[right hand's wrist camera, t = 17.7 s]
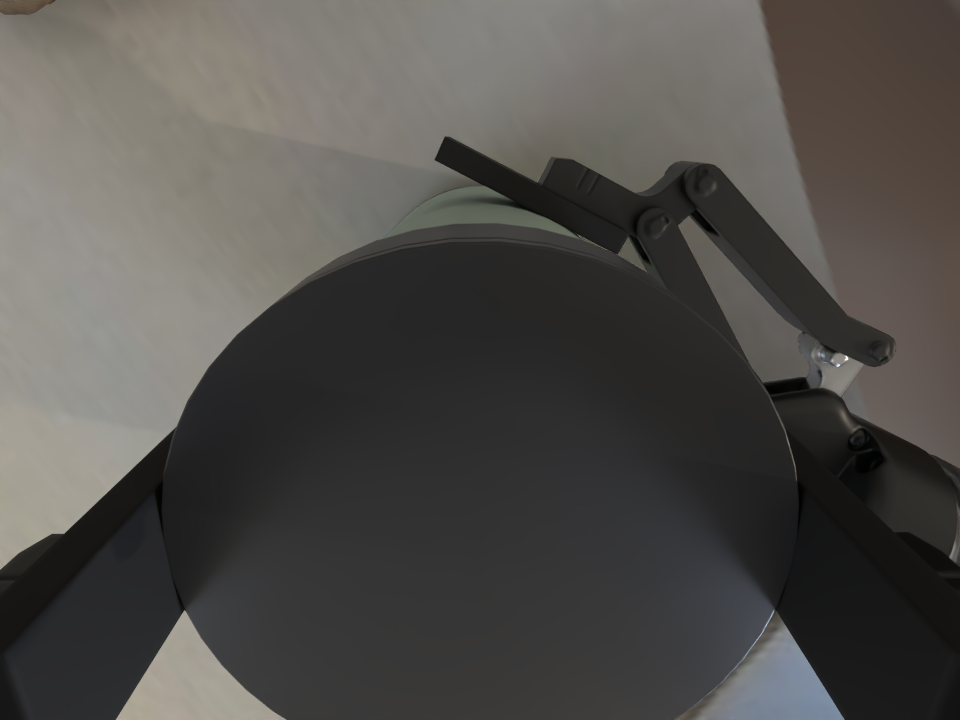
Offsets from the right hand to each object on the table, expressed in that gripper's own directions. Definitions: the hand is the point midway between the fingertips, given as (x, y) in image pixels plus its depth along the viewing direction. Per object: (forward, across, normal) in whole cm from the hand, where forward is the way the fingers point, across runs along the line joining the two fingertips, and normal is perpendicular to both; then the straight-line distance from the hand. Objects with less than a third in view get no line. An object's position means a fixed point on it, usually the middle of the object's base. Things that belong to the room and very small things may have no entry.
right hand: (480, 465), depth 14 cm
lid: (-3, 0, 0) cm, 3 cm away
